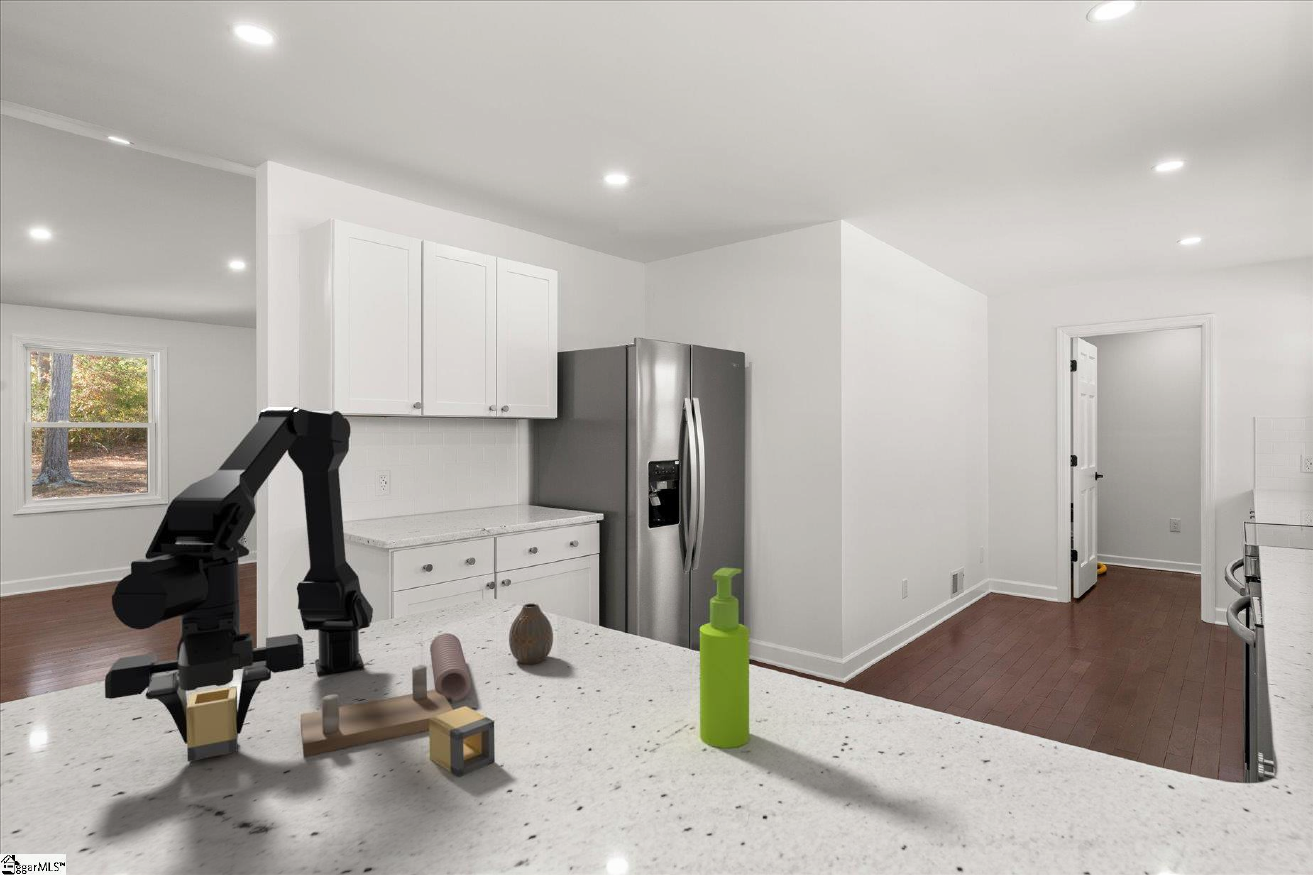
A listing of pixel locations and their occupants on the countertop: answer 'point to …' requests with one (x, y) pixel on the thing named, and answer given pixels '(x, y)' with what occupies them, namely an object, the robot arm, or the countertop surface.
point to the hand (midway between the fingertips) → (213, 737)
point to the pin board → (371, 718)
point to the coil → (449, 667)
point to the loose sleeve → (211, 723)
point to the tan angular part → (461, 740)
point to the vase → (531, 635)
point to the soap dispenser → (724, 670)
